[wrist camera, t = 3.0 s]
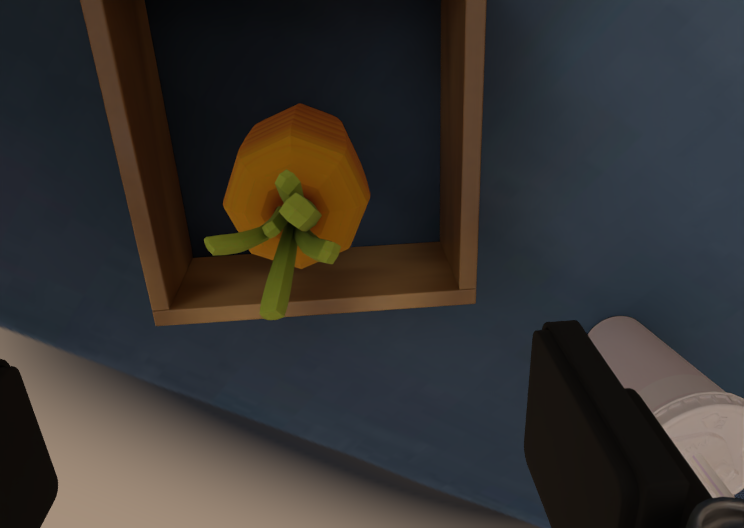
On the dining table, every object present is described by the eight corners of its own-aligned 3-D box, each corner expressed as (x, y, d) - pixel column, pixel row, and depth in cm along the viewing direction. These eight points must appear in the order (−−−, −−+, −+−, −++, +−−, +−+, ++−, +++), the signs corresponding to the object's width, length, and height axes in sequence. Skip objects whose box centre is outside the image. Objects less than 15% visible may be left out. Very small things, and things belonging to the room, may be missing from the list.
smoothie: (613, 276, 35) (775, 455, 22) (690, 327, 36) (881, 519, 24) (539, 357, 37) (649, 563, 24) (615, 402, 39) (754, 614, 26)
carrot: (311, 195, 31) (298, 372, 18) (233, 129, 30) (154, 270, 16) (379, 124, 30) (420, 257, 17) (301, 50, 28) (276, 132, 15)
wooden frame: (181, 271, 33) (155, 326, 28) (119, -34, 26) (71, -33, 21) (454, 253, 33) (476, 304, 28) (459, -50, 27) (489, -52, 22)
